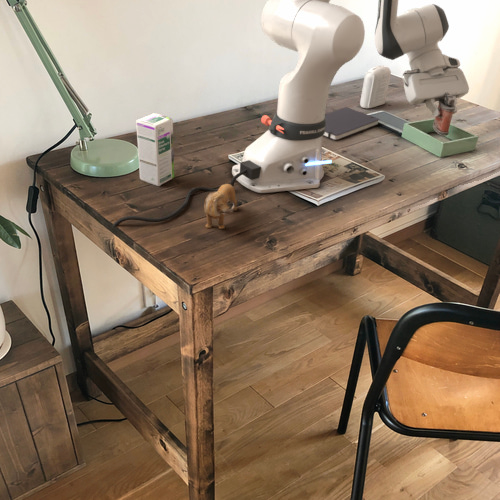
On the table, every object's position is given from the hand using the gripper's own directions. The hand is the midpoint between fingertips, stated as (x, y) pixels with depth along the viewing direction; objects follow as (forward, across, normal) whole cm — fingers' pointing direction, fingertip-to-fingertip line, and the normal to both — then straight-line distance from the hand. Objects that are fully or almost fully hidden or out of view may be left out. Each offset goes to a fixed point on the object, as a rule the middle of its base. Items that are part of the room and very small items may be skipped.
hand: (446, 114), depth 155 cm
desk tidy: (+6, 0, +6) cm, 9 cm away
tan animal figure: (+16, -75, -3) cm, 77 cm away
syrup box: (0, -80, +13) cm, 81 cm away
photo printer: (-17, +3, +29) cm, 34 cm away
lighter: (+3, 0, +4) cm, 5 cm away
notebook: (-9, -18, +22) cm, 29 cm away
